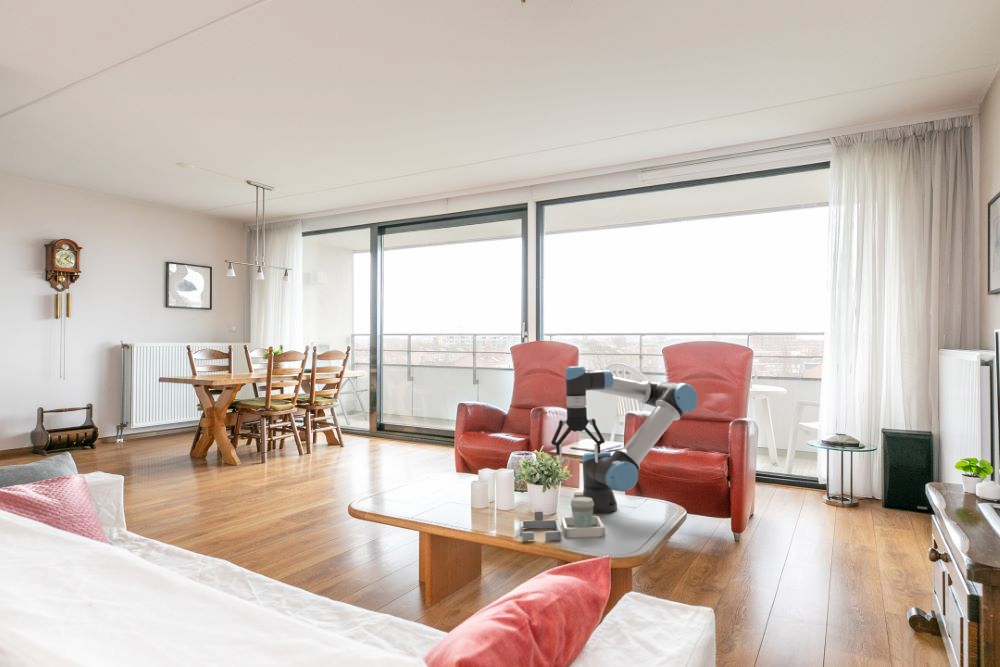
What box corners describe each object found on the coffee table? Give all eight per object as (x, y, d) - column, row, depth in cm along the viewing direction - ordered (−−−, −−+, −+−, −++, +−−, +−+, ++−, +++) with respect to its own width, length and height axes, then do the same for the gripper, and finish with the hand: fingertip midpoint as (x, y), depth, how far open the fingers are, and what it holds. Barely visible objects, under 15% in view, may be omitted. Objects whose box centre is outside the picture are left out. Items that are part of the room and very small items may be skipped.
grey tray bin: (560, 521, 229) (559, 492, 229) (597, 520, 229) (596, 491, 229) (565, 537, 210) (563, 505, 210) (604, 536, 210) (603, 504, 210)
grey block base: (520, 525, 226) (519, 509, 226) (557, 524, 226) (556, 508, 226) (521, 541, 207) (520, 524, 207) (561, 540, 207) (560, 523, 207)
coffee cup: (566, 532, 215) (565, 499, 216) (582, 527, 221) (581, 495, 221) (583, 538, 209) (582, 503, 209) (600, 532, 214) (599, 499, 214)
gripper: (544, 408, 225) (546, 465, 224) (610, 406, 224) (613, 463, 224) (543, 406, 232) (545, 461, 232) (607, 404, 232) (609, 459, 231)
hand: (578, 462), depth 228 cm, fingers open, 13 cm apart
